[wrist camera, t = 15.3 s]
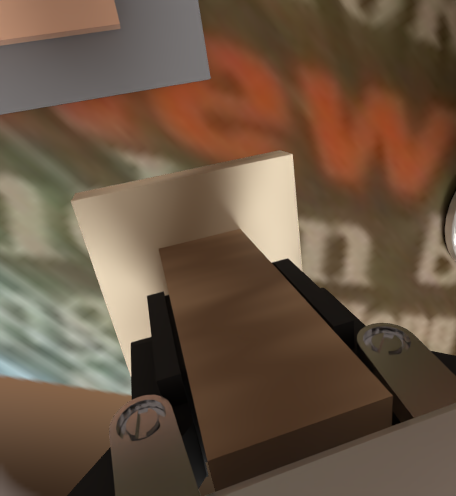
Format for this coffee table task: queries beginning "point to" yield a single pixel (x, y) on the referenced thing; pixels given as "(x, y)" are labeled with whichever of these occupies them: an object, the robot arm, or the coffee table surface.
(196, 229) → the square post stand
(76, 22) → the tile
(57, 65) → the mat
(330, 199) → the coffee table surface
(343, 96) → the coffee table surface
